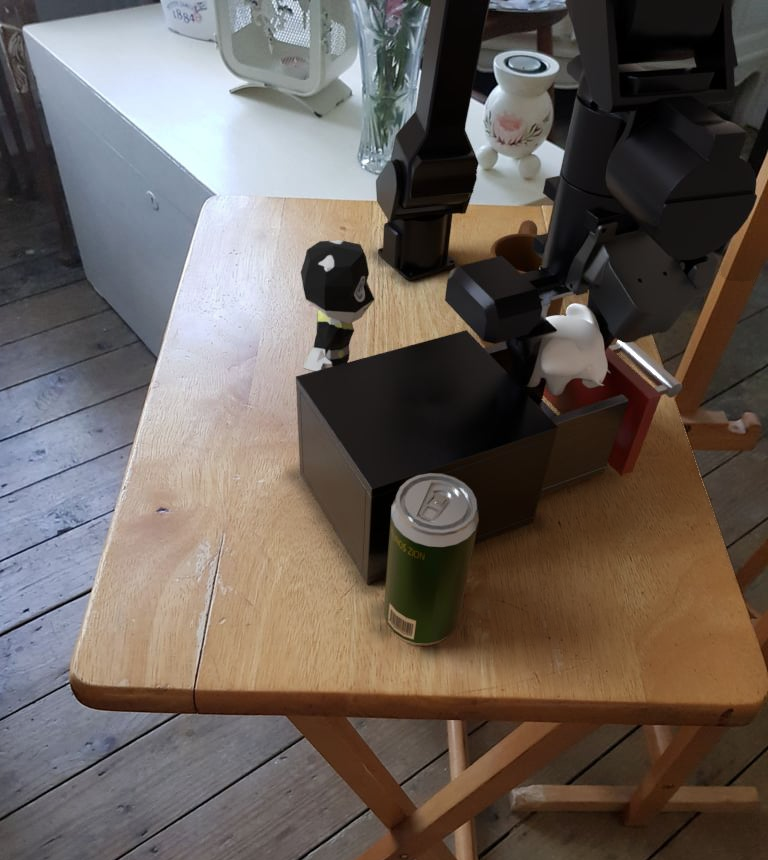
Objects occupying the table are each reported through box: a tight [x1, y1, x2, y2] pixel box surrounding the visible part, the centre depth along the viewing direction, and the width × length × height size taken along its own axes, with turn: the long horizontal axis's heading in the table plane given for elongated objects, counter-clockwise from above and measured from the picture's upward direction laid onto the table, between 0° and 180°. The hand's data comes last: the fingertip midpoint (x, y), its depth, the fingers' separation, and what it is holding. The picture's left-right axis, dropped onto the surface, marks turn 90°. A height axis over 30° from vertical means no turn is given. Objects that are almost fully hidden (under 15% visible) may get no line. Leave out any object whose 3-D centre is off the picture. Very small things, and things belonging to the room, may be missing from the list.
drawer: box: [483, 340, 683, 497], centre depth 66 cm, size 18×11×8 cm, turn 117°
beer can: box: [383, 473, 479, 647], centre depth 53 cm, size 5×5×12 cm
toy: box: [300, 239, 375, 372], centre depth 68 cm, size 13×6×15 cm, turn 168°
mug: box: [478, 219, 565, 348], centre depth 79 cm, size 12×8×9 cm, turn 173°
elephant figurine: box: [527, 303, 610, 396], centre depth 62 cm, size 7×8×6 cm
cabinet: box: [295, 329, 558, 586], centre depth 62 cm, size 15×13×10 cm
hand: (555, 372), depth 63 cm, fingers closed on elephant figurine, 6 cm apart
